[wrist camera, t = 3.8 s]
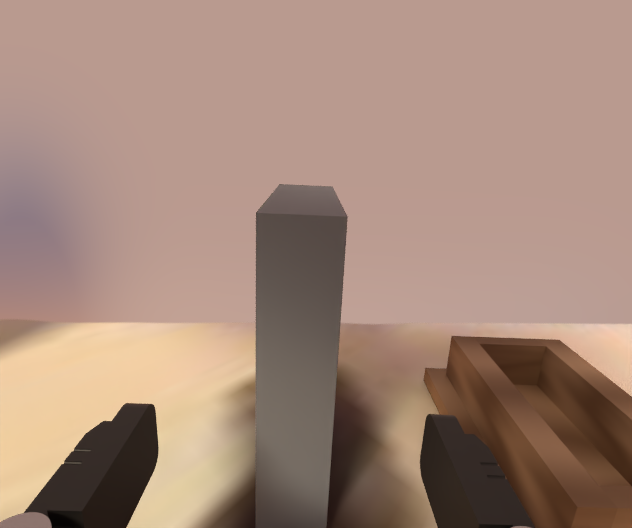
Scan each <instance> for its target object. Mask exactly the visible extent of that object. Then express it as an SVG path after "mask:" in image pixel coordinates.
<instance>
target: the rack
mask: <svg viewBox="0 0 632 528" xmlns="http://www.w3.org/2000/svg"><path fill="white" fill-rule="evenodd" d="M424 382H425V384H426V386H427V388H428V390H429V392H430V394H431V396H432V398H433V401H434V403H435V405H436V407H437V409H438V411H439V413H440V415H454V416H455V417H456V418H457V420H458V422H459V424H460V425H461V427H462V429H463V431H464V433H465V434H474V435H476V436H477V437H478V438H479V439H480V440H481V441H482V442H483V443H484V444H485V445H487V446H488V447H489V449H490V450H491V452H492V454H493V456H494V457H495V459H496V461H497V462H498V466H500V468H501V469H502V471H503V473H504V474H505V478H506V479H507V480H508V481H509V483H510V485H511V487H512V488H513V490H514V492H515V493H516V495H517V497H518V499H519V500H520V502H521V504H522V505H523V507H524V509H525V511H526V512H527V514H528V516H529V518H530V519H531V521H532V523H533V524H534V526H535V528H632V397H631V396H630V395H629V394H627V393H626V392H625V391H624V390H622V389H621V388H620V387H618V386H617V385H616V384H615V383H613V382H612V381H611V380H610V379H608V378H607V377H606V376H604V375H603V374H602V373H601V372H599V371H598V370H597V369H595V368H594V367H593V366H592V365H590V364H589V363H588V362H587V361H585V360H584V359H583V358H581V357H580V356H579V355H578V354H576V353H575V352H574V351H573V350H571V349H570V348H569V347H567V346H566V345H565V344H564V343H562V342H561V341H560V340H546V339H518V338H490V337H461V336H452V338H451V345H450V351H449V357H448V364H447V369H435V368H425V375H424Z"/></svg>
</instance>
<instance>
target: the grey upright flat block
mask: <svg viewBox="0 0 632 528" xmlns="http://www.w3.org/2000/svg"><path fill="white" fill-rule="evenodd" d="M346 230H347V215H346V213H345V211H344V209H343V207H342V205H341V203H340V201H339V199H338V197H337V195H336V193H335V191H334V189H333V187H328V186H305V185H283V184H280V185H279V186H278V187H277V188H276V189H275V191H274V192H273V193H272V194H271V196H270V197H269V198H268V199H267V200H266V202H265V203H264V204H263V205H262V206H261V208H260V209H259V210H258V211H257V212H256V519H255V528H326V526H327V511H328V496H329V482H330V467H331V452H332V438H333V423H334V408H335V393H336V379H337V364H338V349H339V335H340V319H341V305H342V291H343V276H344V261H345V246H346V232H347V231H346Z"/></svg>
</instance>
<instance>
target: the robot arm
mask: <svg viewBox="0 0 632 528" xmlns="http://www.w3.org/2000/svg"><path fill="white" fill-rule="evenodd" d="M157 458H158V436H157V424H156V412H155V407H154V405H153V404H134V403H126V404H124V405H123V406H122V408H121V409H120V411H119V412H118V413H117V415H116V416H115V417H114V419H113V420H112V421H103V422H101V423H100V424H99V425H97V426H96V427H94V428H93V429H92V430H90V431H89V432H88V433H86V434H85V435H84V437H83V438H82V439H81V441H80V442H79V443H78V444H77V446H76V447H75V448H74V451H73V452H71V453H70V455H69V456H68V457H67V458H66V460H65V461H64V464H62V465H61V466H60V467H59V469H58V470H57V471H56V472H55V474H54V475H53V476H52V478H51V479H50V480H49V481H48V483H47V484H46V485H45V486H44V488H43V489H42V490H41V492H40V493H39V494H38V495H37V497H36V498H35V499H34V500H33V502H32V503H31V504H30V506H29V507H28V508H27V509H26V511H25V512H24V513H22V514H18V515H15V516H12V517H10V518H8V519H6V520H3V521H2V522H0V528H126V527H127V525H128V523H129V521H130V519H131V517H132V515H133V513H134V511H135V509H136V507H137V505H138V503H139V500H140V498H141V496H142V494H143V492H144V490H145V488H146V486H147V484H148V482H149V480H150V478H151V476H152V474H153V472H154V469H155V466H156V463H157ZM420 469H421V476H422V480H423V483H424V486H425V490H426V493H427V496H428V499H429V502H430V505H431V508H432V511H433V514H434V517H435V520H436V523H437V526H438V528H535V526H534V524H533V523H532V521H531V519H530V518H529V516H528V514H527V512H526V511H525V509H524V507H523V505H522V504H521V502H520V500H519V499H518V497H517V495H516V493H515V492H514V490H513V488H512V487H511V485H510V483H509V481H508V480H507V479H506V478H505V474H504V473H503V471H502V469H501V468H500V466H498V462H497V461H496V459H495V457H494V456H493V454H492V452H491V450H490V449H489V447H488V446H487V445H485V444H484V443H483V442H482V441H481V440H480V439H479V438H478V437H477V436H476V435H474V434H465V433H464V431H463V429H462V427H461V425H460V424H459V422H458V420H457V418H456V417H455V416H454V415H436V414H428V415H427V417H426V422H425V429H424V436H423V442H422V449H421V456H420Z"/></svg>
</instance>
